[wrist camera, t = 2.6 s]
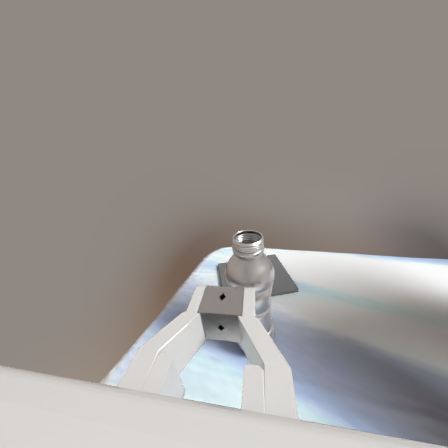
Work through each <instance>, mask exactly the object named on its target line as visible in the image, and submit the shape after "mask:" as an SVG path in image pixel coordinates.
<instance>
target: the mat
mask: <svg viewBox="0 0 448 448" xmlns="http://www.w3.org/2000/svg"><path fill="white" fill-rule="evenodd" d="M267 257H268V259H269V260H270V261H271V263H272V265H273V268H274V271H275V273H274V282H273V287H272V292H271V296H276V295H282V294H287V293H292V292H298V287H297V286H296V285H295V283H294V282H293V280H292V279H291V277H290V276H289V274H288V273H287V271H286V270H285V269H284V267H283V266H282V264H281V263H280V261H279V260H278V258H277V257H276V255H275V254H274V255H268V256H267ZM227 263H228V262H226V263H220V264H218V265H219V271H220V278H221V284H222V287H228V284H227V281H226V276H225V269H226V265H227Z"/></svg>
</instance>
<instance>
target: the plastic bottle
mask: <svg viewBox="0 0 448 448" xmlns="http://www.w3.org/2000/svg"><path fill="white" fill-rule="evenodd" d="M232 248H233V253H234V254H233V255H232V257H231V258H230V260H229V261H228V263H227V265H226V269H225V276H226V281H227V284H228V287H245V288H255V304H256V317H257V318H258V319H259V320H260V322H261V323H262V325H263V327H264V328H265V330H266V331H267V333H268V334H269V336H270V337H271V339H272V340H274V336H275V329H274V324H273V320H272V317H271V309H270V303H271V292H272V287H273V282H274V273H275V271H274V268H273V265H272V263H271V261H270V260H269V259H268V257H267V256H266V255H265V254H264V253H263V251H264V244H263V235H262V234H261V233H260V232H258V231H254V230H244V231H240V232H237V233H236V234H234V236H233V247H232ZM237 344H238V345H239V347H240V348H241V349H242V350H243V347H242V345H241V343H238V342H237ZM243 351H244V350H243Z"/></svg>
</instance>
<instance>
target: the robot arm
mask: <svg viewBox="0 0 448 448" xmlns="http://www.w3.org/2000/svg"><path fill="white" fill-rule="evenodd" d="M206 339H212V340H224V341H231V342H238V343H241V345H242V347H243V350H244V352H245V354H246V357H247V359H248V361H249V363H250V364H247V365H246V366H245V367H244V375H243V390H242V404H241V409H238V408H232V407H227V406H221V405H216V404H210V403H205V402H199V401H194V400H188V399H183V396H184V393H185V388H184V385H183V383H182V380H181V378H180V375H179V374H180V373H181V371H182V370H183V369H184V367H185V366H186V365H187V364H188V362H189V361H190V360H191V359H192V357H193V356H194V355H195V354H196V352H197V351H198V350H199V349H200V347H201V346H202V345H203V344H204V342H205V341H206ZM0 448H448V447H446V446H441V445H435V444H430V443H424V442H419V441H413V440H408V439H402V438H397V437H391V436H386V435H380V434H375V433H369V432H364V431H358V430H353V429H347V428H342V427H336V426H331V425H325V424H320V423H314V422H309V421H303V420H299V418H298V412H297V405H296V398H295V391H294V385H293V378H292V371H291V368H290V366H289V365H288V363H287V362H286V360H285V359H284V357H283V356H282V354H281V353H280V351H279V349H278V348H277V346H276V345H275V343H274V342H273V340H272V339H271V337H270V336H269V334H268V333H267V331H266V330H265V328H264V327H263V325H262V323H261V322H260V320H259V319H258V318H257V317H256V304H255V288H245V287H219V286H203V285H198V286H197V287H196V288H195V290H194V293H193V295H192V298H191V300H190V303H189V305H188V307H187V310H186V312H182V313H181V314H179V315H178V316H177V317H176V318H175V319H173V320H172V321H171V322H170V323H169V324H167V325H166V326H165V327H164V328H163V329H161V330H160V331H159V332H158V333H156V334H155V335H154V336H153V337H152V338H150V339H149V340H148V341H147V342H146V343H144V344H143V345H142V346H141V347H140V348H138V350H137V352H136V354H135V355H134V357H133V359H132V361H131V362H130V364H129V366H128V368H127V369H126V371H125V373H124V375H123V376H122V378H121V380H120V382H119V384H118V385H117V387H116V386H111V385H105V384H100V383H94V382H88V381H83V380H78V379H72V378H67V377H61V376H56V375H50V374H45V373H39V372H34V371H28V370H22V369H17V368H12V367H6V366H1V365H0Z"/></svg>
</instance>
